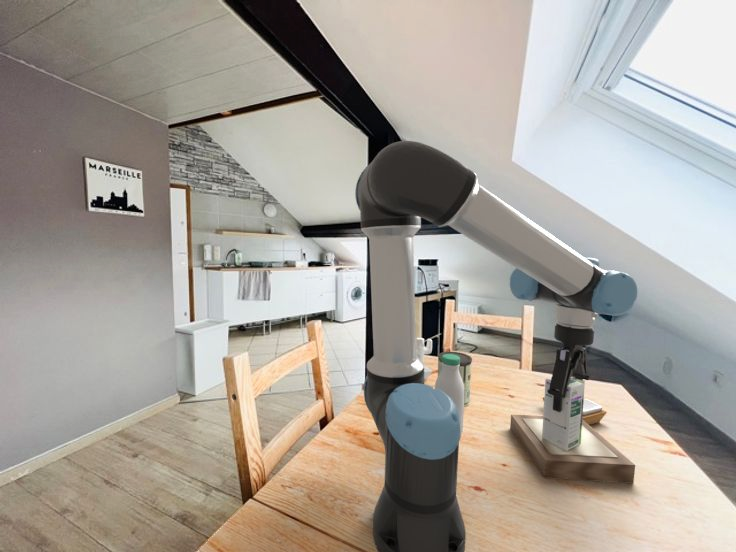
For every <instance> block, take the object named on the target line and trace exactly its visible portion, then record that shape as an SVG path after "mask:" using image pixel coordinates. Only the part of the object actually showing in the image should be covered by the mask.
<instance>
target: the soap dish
mask: <svg viewBox="0 0 736 552" xmlns="http://www.w3.org/2000/svg"><path fill="white" fill-rule="evenodd" d="M542 401H543V402H544V396H543V397H542ZM607 413H608V412H607V411H606V410H604V409H603V406H602V405H600V404H598V403H596V402H594V401H592V400H590V399H587V398H586V397H584V402H583V417H582V419H583V420H584V421H585V422H586V423H587V424H588V425H590V426H591V425H593V424H596V423H600V422H601V420H602V419H603V418H605V415H606V414H607Z"/></svg>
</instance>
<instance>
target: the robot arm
mask: <svg viewBox="0 0 736 552" xmlns="http://www.w3.org/2000/svg"><path fill="white" fill-rule="evenodd" d="M376 154H377V155H375V157H374V158H373V160H372V161H371V162H370V163H369V164H368V165H367V166H366V167H365V168H364V169H363V171H362V172H361V173H360V174H359V177H358V179H357V181H356V186H355V193H354V195H355V202H356V205H357V207H358V209H359V210H358V211H359V212H360V213H359V214H360V230H361V231H362V233H363V234H365V236H367V238H368V240H369V242H368V244H369V266H370V270H369V271H370V289H371V290H370V291H371V292H370V293H371V316H372V318H371V319H372V320H371V321H372V322H371V323H372V339H373V340H372V342H373V345H372V346H373V347H372V348H373V356H372V357H371V358H370V359H369V360H368V361H367V363H366V376H365V380H364V382H363V383H364V384H363V397H364V402H365V406H366V407H367V409H368V411H369V412H370V414H371V417H372V419H373V421H374V424H375V426H376V428H377V431H378V433H379V436H380V438H381V441H382V444H383V446H384V454H385V455H384V457H385V459H384V462H385V463H384V485H383V487H382V489H381V492H380V495H379V498H378V500H377V502H376V505H375V508H374V511H373V518H372V537H373V542H374V544H375V546H376V549H377V551H378V552H465V551H466V539H467V538H466V535H467V534H466V527H465V522H464V519H463V516H462V512H461V509H460V505H459V502H458V498H457V483H458V467H459V466H458V465H459V451H460V450H459V449H460V440H461V435H460V423H459V412H458V409H457V406H456V404H455V403H454V401H453V400H452V399H451V398H450V397H449V396H448V395H447V394H446V393H444V392H443V391H441V390H439V389H435V388H434V387H433V386H431V385H429V384H425V380H424V365H425V364H424V360H423V361H422V360H420V359H419V358H418V357H417V356H416V346H417V343H416V338H417V337H416V305H415V304H416V301H415V295H416V294H415V264H414V263H415V260H414V258H415V257H414V255H415V254H414V237H415V235H416V233H418V231H420V229H422V219H424V220H426V221H428V222H430V223H432V224H433V225H435V226H437V227H439V228H442V227H445V226H449V227H450V228H452V229H453V230H455V231H456V232H457V233H460V234H461V235H463V236H464V237H466V238H468V239H469V240H471V241H473V242H474V243H476V244H477V245H479V246H480V247H482V248H484V249H486V250H487V251H489V252H490V253H491V254H493V255H495V256H497V257H498V258H500V259H502V260H503V261H504V262H506V263H508V264H509V265H511V266H513V267H514V268H515V269H513V271H512V273H511V274H510V277H509V288H510V291H511V293H512V295H513V296H514V297H515V298H516V299H517V300H521V301H529V302H532V301H542V302H546V303H549V304H555V305H556V308H555V309H556V310H555V319H554V320H555V321H556V323H555V324H554V332H553V333H554V334H553V337H554V339H555V340H556V341H558V342H561V343H562V348H560V349H558V348H557V350H556V356H555V361H554V362H555V363H554V367H553V371H552V374H551V377H552V379H551V383H550V388H549V390H548V391H547V392H548V393H549V394H551V395H552V401H551V414H550V422H552V423H555V424H557V425H560V426H562V427H564V426H565V417H566V404H567V397H566V392H567V387H568V385H569V382H570V378H574V379H576V380H579V381H581V382H583V383H584V384H585V385H586V383H585V381H589V380H590V375H588V374H589V371H588V354H587V352H588V351H587V347H588V346H591V345H593V344H594V338H595V329H594V328H593V327H594V326H595V325H596V323H595V322H596V318H599V315H608V316H612V317H617V316H622V315H625V314H626V313H627V312H629V311H630V310H631V309H632V308H633V306H634V304H635V302H636V301H637V299H638V285H637V283H636V281H635V279H634V277H633V276H631V275H630V274H628V273H626V272H624V271H616V270H613V269H609V270H606V269H602V268H601V267H600V261H599V259H597V258H595V257H584V256H582V255H581V254H580V253H578V252H577V251H576V250H575V249H572V248H571V247H569V245H567V244H565V243H564V242H563V241H561V240H559V238H556V236H554V235H553V234H551V233H550V232H548V231H547V230H545V229H544V228H543V227H541V226H539V225H538V224H536V223H535V222H534V221H532V220H530V219H529V218H527V217H526V216H525V215H524V214H522V213H520V212H519V211H518V210H516V209H515V208H513V207H512V206H510V205H509V204H507V203H506V202H504V201H503V200H501V199H500V198H499V197H497V196H496V195H495V194H493V193H492V192H490V191H489V190H488V189H486V188H484V187H483V186H482V185H480V184H479V183H478V175H477V173H475V171H473V170H472V169H470V168H468V167H467V166H466V165H465V164H463V163H461V162H460V161H458V160H456V159H455V158H454V157H452V156H451V155H448V154H447V153H445V152H444V151H441V150H439V149H437V148H435V147H433V146H430V145H428V144H425V143H422V142H420V141H414V140H399V141H396V142H392V143H390V144H388V145H387V146H385V147H384V148H382V149H381V150H380V151H379V152H377V153H376ZM558 390H559V391H558Z"/></svg>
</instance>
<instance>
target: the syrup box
mask: <svg viewBox="0 0 736 552" xmlns="http://www.w3.org/2000/svg"><path fill="white" fill-rule="evenodd" d="M574 378H575V377H574ZM574 378H570V382H569V385H568V387H567V392H566V397H567V404H566V417H565V426H564V427H562V426H560V425H557V424H555V423H552V422H550V414H551V401H552V395H551V394H549V393H548V392H547V391H548V390H549V388H550V383H551V379H552V376H551V377H547V378H545V379H544V381H545V383H544V395H543V397H544V401H543V415H542V416H543V430H542V438H544V439H545V440H547V441H549V442H550V443H552V444H554V445H556V446H558V447H559V448H561V449H563V450H565V451H568V450H569V449H571V448H573V447H575V446H577V445H579V444H581V431H582V417H583V402H584V398H585V387H586V386H585V385H586V383H585V384H584V383H583V382H581V381H579V380H576V379H574ZM558 391H559V390H558Z"/></svg>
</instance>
